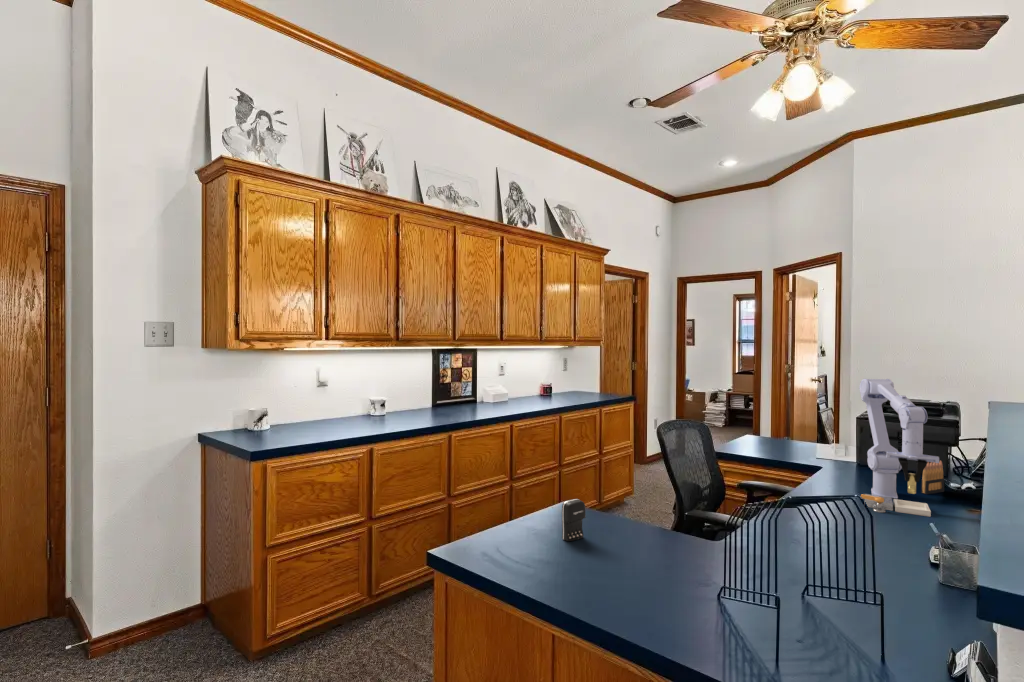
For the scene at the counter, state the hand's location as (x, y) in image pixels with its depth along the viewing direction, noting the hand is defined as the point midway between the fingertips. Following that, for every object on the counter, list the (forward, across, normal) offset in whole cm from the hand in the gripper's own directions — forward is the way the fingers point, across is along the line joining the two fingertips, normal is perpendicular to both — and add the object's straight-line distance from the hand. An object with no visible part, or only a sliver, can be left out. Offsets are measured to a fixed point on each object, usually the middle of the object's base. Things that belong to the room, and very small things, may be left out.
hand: (911, 480), depth 187 cm
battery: (+10, -88, -85) cm, 123 cm away
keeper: (+7, -11, -7) cm, 15 cm away
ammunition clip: (+10, +9, +30) cm, 33 cm away
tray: (+10, 0, 0) cm, 10 cm away
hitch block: (+10, -10, -2) cm, 14 cm away
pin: (+4, 0, 0) cm, 4 cm away
